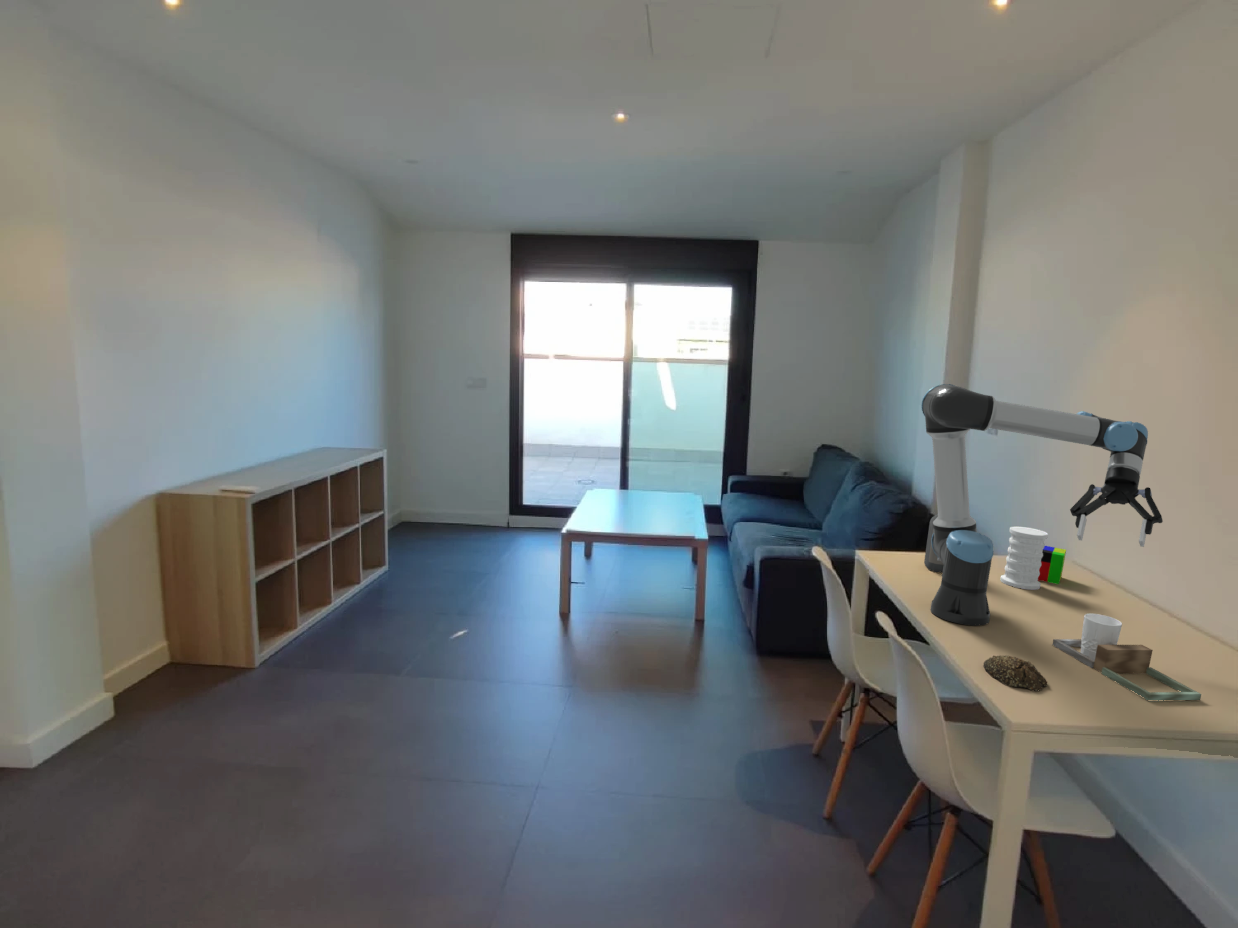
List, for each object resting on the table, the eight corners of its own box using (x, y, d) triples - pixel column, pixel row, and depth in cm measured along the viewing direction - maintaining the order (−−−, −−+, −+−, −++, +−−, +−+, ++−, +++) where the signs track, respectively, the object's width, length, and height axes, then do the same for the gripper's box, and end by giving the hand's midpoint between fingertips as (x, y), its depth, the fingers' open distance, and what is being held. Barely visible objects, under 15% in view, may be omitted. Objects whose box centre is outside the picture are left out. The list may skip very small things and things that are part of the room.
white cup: (1113, 667, 174) (1121, 628, 172) (1075, 656, 178) (1082, 619, 176) (1115, 656, 180) (1123, 619, 178) (1079, 647, 184) (1085, 610, 183)
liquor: (957, 574, 240) (970, 487, 235) (928, 571, 242) (941, 484, 237) (949, 566, 249) (962, 482, 244) (922, 563, 251) (934, 480, 246)
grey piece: (1148, 701, 157) (1153, 675, 156) (1052, 644, 185) (1056, 623, 184) (1200, 700, 158) (1205, 675, 157) (1097, 644, 187) (1101, 623, 186)
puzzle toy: (1028, 570, 251) (1032, 543, 249) (1061, 577, 245) (1066, 549, 243) (1024, 577, 243) (1029, 549, 241) (1058, 584, 237) (1063, 555, 235)
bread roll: (977, 663, 171) (980, 644, 170) (1031, 669, 170) (1034, 649, 169) (999, 688, 159) (1003, 668, 158) (1058, 695, 158) (1061, 674, 157)
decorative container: (1048, 589, 231) (1057, 535, 228) (1020, 590, 228) (1029, 536, 225) (1019, 577, 242) (1028, 525, 239) (992, 578, 239) (1000, 526, 236)
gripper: (1182, 483, 188) (1171, 554, 180) (1073, 478, 205) (1058, 542, 198) (1179, 467, 183) (1167, 539, 175) (1068, 463, 201) (1052, 528, 193)
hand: (1109, 540), depth 186 cm, fingers open, 13 cm apart
